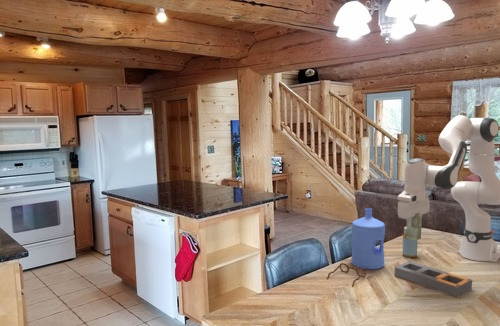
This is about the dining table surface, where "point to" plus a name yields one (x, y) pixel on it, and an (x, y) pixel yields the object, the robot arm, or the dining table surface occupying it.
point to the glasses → (348, 270)
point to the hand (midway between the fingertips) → (413, 225)
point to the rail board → (434, 278)
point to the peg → (414, 228)
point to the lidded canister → (409, 246)
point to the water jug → (367, 242)
